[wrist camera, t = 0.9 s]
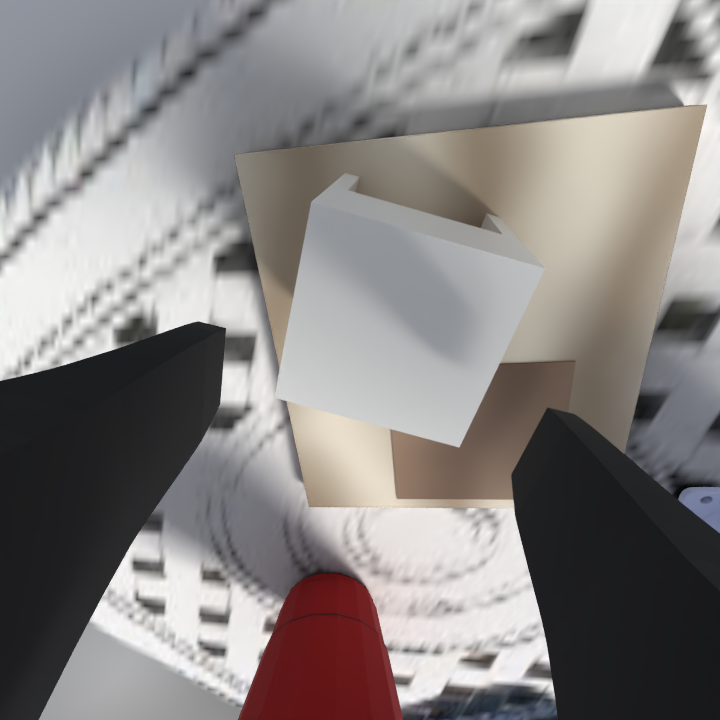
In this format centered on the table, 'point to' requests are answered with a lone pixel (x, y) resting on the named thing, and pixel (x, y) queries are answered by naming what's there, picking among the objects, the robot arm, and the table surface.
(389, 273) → the white tabletop archway
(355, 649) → the plastic cup
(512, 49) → the table surface
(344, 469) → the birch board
